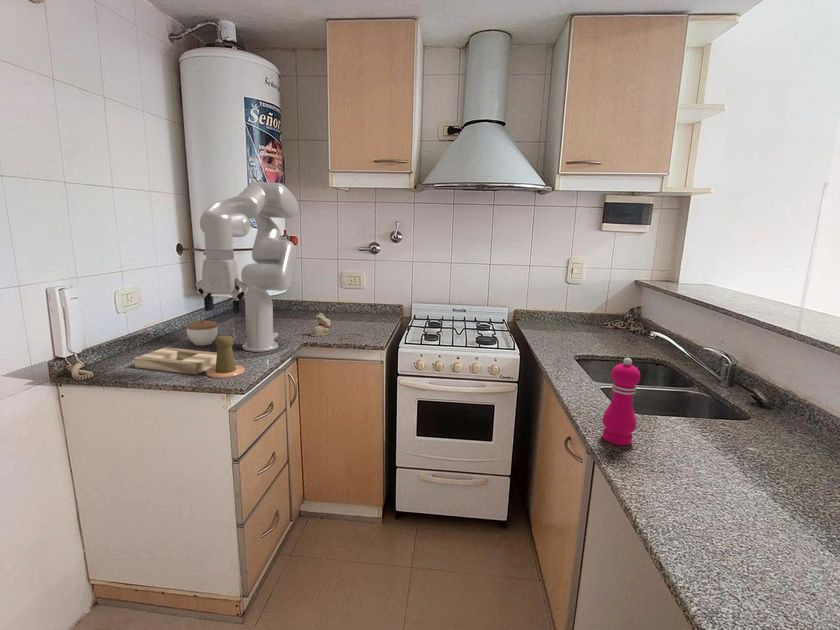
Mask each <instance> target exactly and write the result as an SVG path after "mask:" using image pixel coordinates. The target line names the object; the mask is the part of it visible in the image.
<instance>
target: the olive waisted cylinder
mask: <svg viewBox="0 0 840 630" xmlns="http://www.w3.org/2000/svg"><path fill="white" fill-rule="evenodd" d="M214 343H215V346H216V347H217V349H216V350H217V351H216V353H217V358H216V365H215V367H216V369H215V372H217V373H231V372H234V371H235V370H236V366H235V365H236V361H235V356H234V351H233V345H234V338H233V336H230V335H219V336H216V338H215V340H214Z"/></svg>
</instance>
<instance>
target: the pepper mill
mask: <svg viewBox="0 0 840 630" xmlns="http://www.w3.org/2000/svg"><path fill="white" fill-rule="evenodd" d="M632 363H633V360H632V358H630V357H624V359H623V362H622V363H619V364H617V365H615V366H614V367H613V368H612V370H611V373H610V374H611V375H610V377H611V379H612V380H613V382H612V386H611V389H612V391H613V393H612V398H611V401H610V403H609V405H608V406H607V408H606V409H605V411H604V413H603V416H602V421H601V422H602V424H603V426H604V427H605V428H603V430H602V439H603V440H604V441H606V442H607V441H608V442H607V443H609V442H610V443H609V444H612V443H613V444H612V445H615V444H616V445H615V446H620V445H622V446H621V447H623V446H625V445H627V446H630V445H631V444H632V441H633V434H632V433H634V432H635V430H636V429H637V417H636V413H635V410H634V408H633V407H634V406H633V399H634V394H636V393H637V392H636V390H637V384H639V382H640V381H641V373H640V370H639V369H638V367H636V366H634V365H633V364H632Z"/></svg>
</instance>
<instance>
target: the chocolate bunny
mask: <svg viewBox="0 0 840 630" xmlns="http://www.w3.org/2000/svg"><path fill="white" fill-rule="evenodd" d="M315 319H316V320H317V322H318V325H315V326H314V327H313V328H312V330H311V332H310V333H309V336H310V335H325V334H329V331H330V329H331V328H330V327H331V325H332V324H331V319H329V318H326V316H325V315H324V314H323V313H321V312H319V313H318V314H317V315H315Z"/></svg>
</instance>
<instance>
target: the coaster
mask: <svg viewBox="0 0 840 630" xmlns="http://www.w3.org/2000/svg"><path fill="white" fill-rule="evenodd" d="M235 366H236V370H235V371H234V372H231V373H217V372H215V369H216V366H213V367H211V368H209V369H207V370H205V371H206V373H205V374H206V376H207V377H210V378H214V379H227V378H233V377H238V376H240V375H242V374H243V373H245V372H246V371H245V367H244V366H242V365H240V364H239V365H238V364H235Z"/></svg>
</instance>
